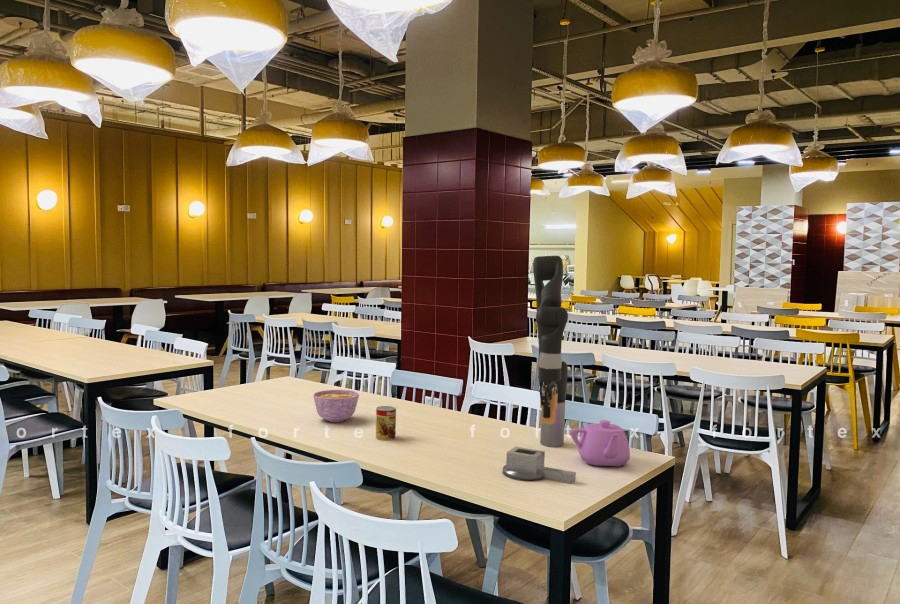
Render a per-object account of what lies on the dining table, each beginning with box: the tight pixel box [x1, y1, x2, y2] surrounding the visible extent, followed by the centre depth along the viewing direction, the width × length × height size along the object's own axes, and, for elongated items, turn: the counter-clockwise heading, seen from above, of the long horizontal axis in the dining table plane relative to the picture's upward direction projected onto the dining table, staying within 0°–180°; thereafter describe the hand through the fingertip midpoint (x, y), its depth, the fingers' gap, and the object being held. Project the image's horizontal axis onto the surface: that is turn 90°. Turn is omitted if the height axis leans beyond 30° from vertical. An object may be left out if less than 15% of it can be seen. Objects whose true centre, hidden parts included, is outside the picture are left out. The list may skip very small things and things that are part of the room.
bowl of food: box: [312, 389, 360, 423], centre depth 283 cm, size 20×20×12 cm
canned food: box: [375, 405, 397, 441], centre depth 257 cm, size 8×8×12 cm
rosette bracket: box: [502, 446, 577, 485], centre depth 214 cm, size 15×24×8 cm, turn 62°
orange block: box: [539, 393, 558, 425], centre depth 217 cm, size 3×5×10 cm, turn 64°
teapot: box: [569, 419, 631, 467], centre depth 229 cm, size 23×21×15 cm
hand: (548, 416), depth 217 cm, fingers closed on orange block, 3 cm apart
